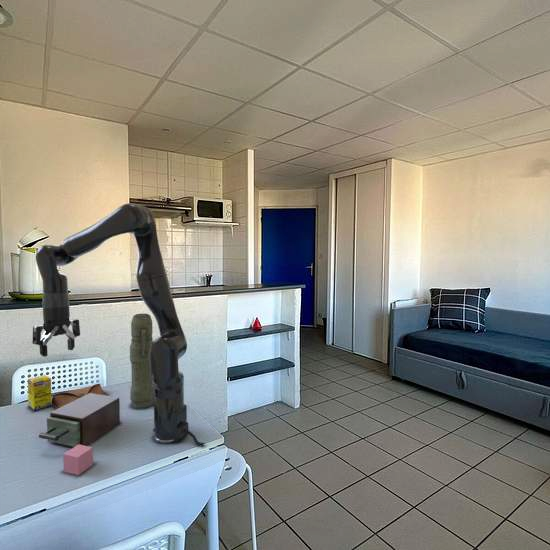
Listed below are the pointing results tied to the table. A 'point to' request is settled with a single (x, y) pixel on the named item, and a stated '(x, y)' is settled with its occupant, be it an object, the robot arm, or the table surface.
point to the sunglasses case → (75, 395)
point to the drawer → (63, 431)
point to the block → (78, 459)
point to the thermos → (141, 362)
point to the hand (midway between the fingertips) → (58, 352)
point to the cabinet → (92, 415)
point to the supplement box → (39, 392)
